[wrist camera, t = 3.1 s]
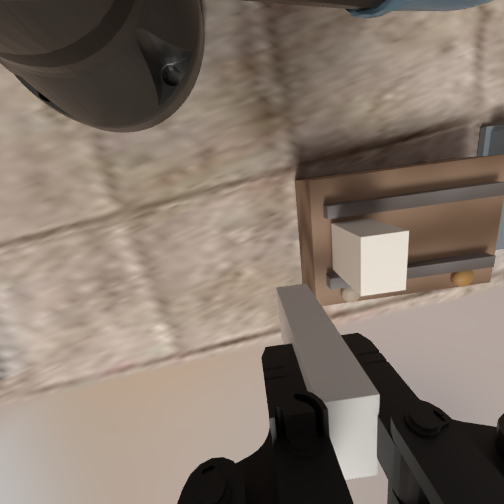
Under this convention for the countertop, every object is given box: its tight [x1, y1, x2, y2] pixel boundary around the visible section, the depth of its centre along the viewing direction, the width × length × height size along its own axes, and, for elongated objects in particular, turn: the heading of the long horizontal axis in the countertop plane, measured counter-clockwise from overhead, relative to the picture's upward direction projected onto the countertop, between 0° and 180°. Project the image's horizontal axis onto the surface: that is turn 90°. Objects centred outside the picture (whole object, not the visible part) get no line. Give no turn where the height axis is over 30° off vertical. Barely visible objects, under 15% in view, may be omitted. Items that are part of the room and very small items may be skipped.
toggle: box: [331, 218, 409, 296], centre depth 18 cm, size 4×3×5 cm
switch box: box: [295, 154, 504, 306], centre depth 23 cm, size 11×16×6 cm
